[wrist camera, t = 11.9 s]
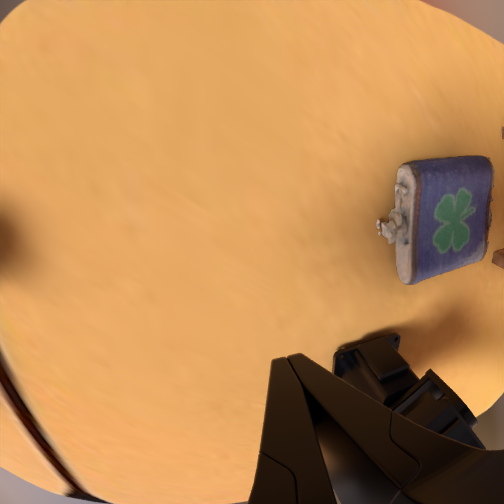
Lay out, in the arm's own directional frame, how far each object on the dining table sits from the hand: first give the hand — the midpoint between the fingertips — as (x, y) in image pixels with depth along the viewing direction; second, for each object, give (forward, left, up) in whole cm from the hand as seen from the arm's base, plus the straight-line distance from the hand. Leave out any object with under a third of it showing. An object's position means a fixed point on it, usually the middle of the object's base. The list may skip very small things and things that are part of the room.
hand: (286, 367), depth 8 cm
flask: (0, -20, -13) cm, 24 cm away
